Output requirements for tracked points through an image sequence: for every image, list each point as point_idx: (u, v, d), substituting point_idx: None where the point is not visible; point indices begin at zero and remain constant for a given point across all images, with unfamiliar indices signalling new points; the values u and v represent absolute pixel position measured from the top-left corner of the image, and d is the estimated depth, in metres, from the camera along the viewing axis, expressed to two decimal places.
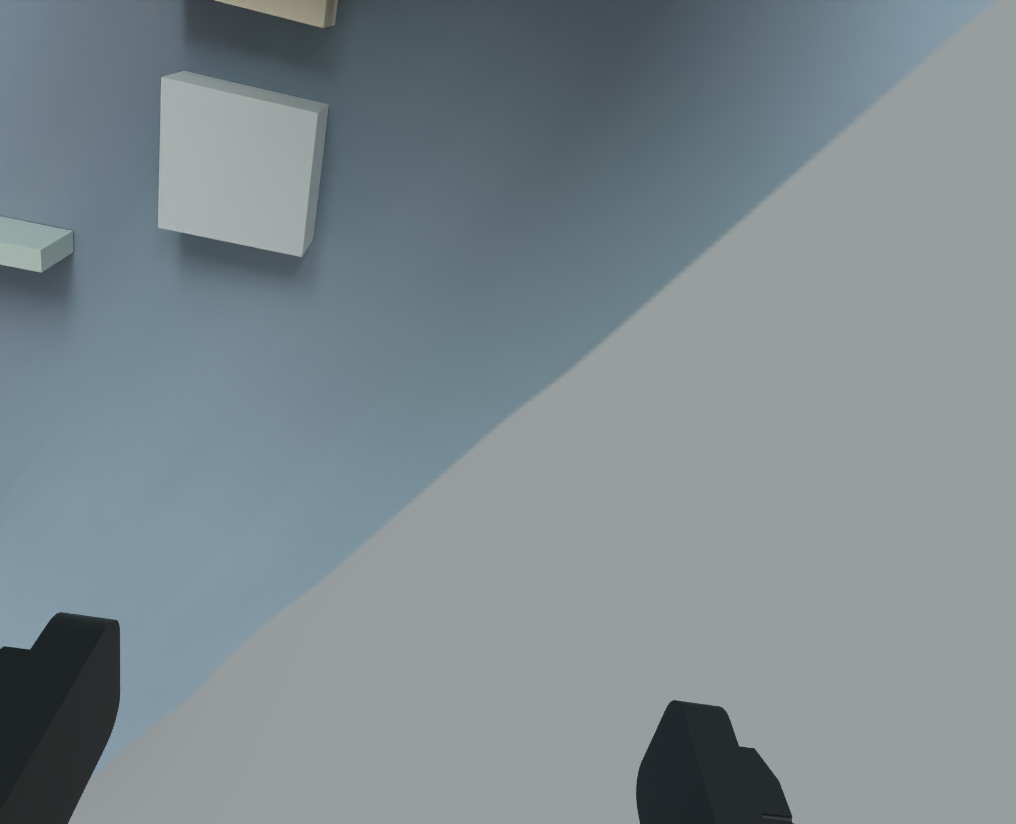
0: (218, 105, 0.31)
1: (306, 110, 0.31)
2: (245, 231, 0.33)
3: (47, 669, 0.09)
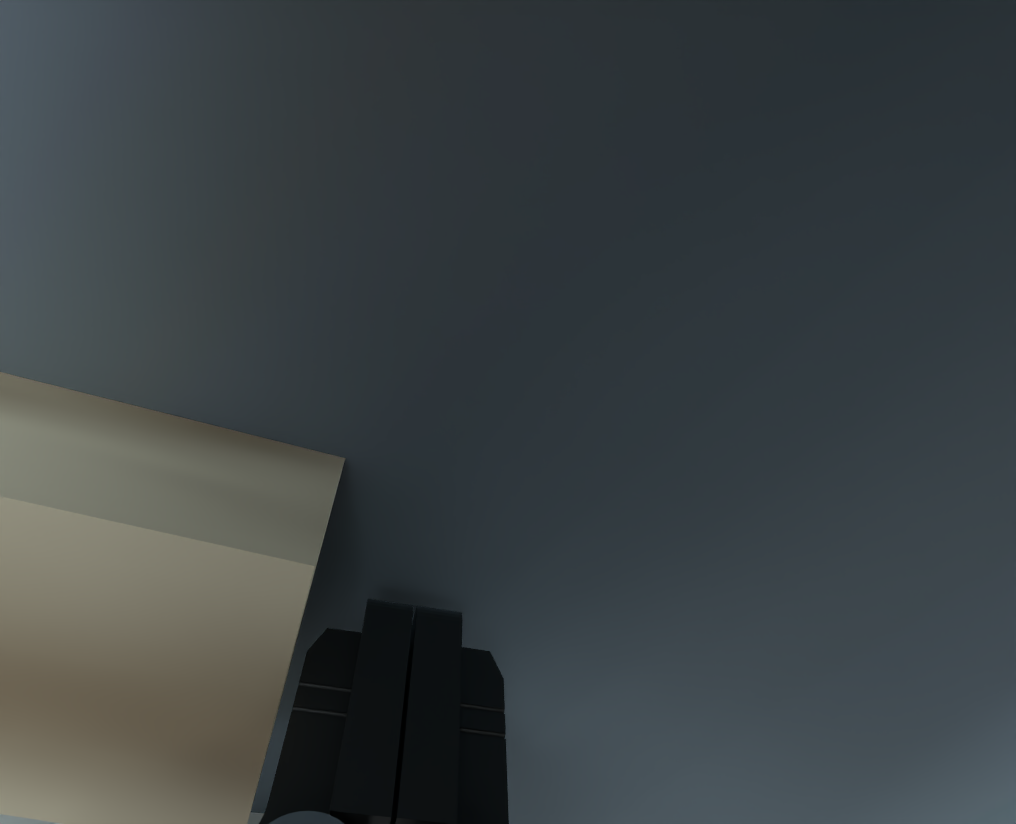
0: None
1: None
2: None
3: (383, 647, 0.11)
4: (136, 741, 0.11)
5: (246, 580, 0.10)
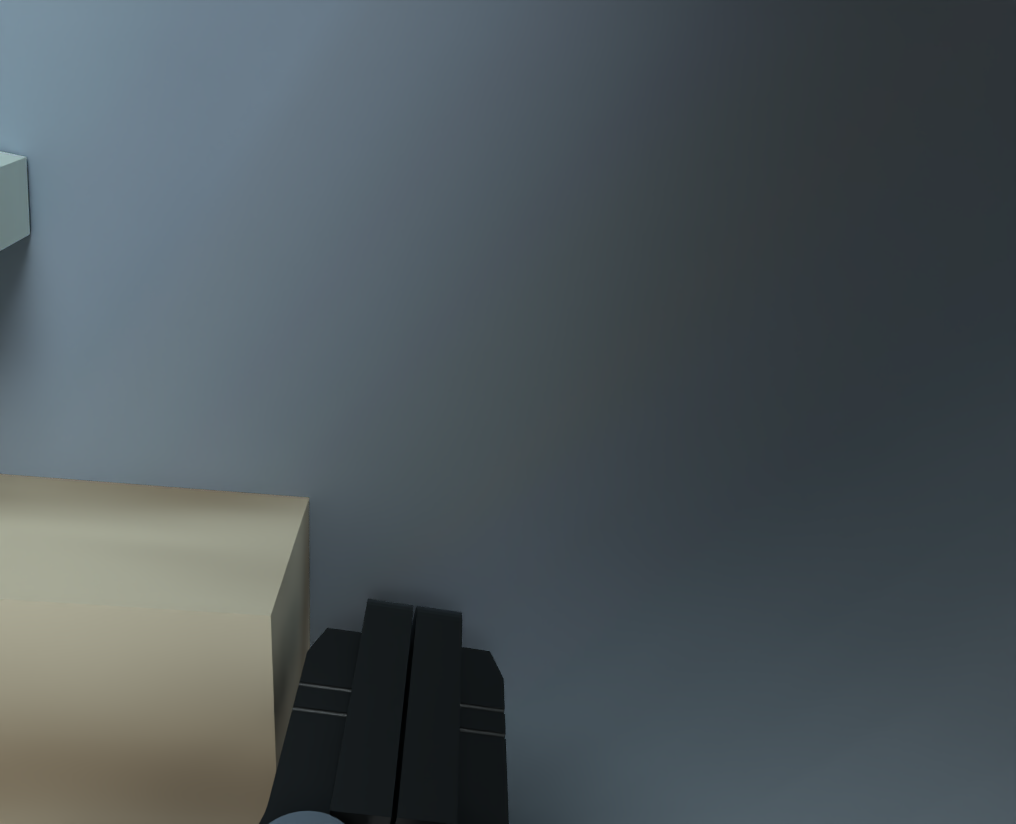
0: None
1: None
2: None
3: (383, 647, 0.11)
4: (155, 801, 0.12)
5: (209, 639, 0.10)
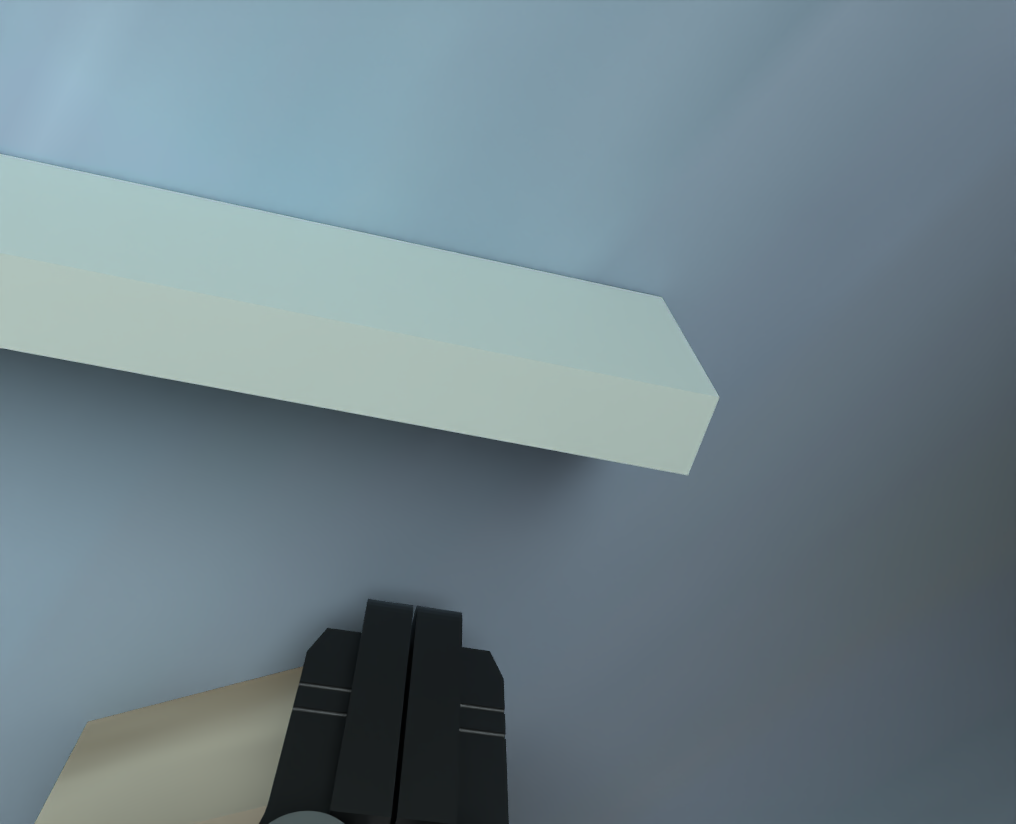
0: None
1: None
2: None
3: (383, 647, 0.11)
4: None
5: None
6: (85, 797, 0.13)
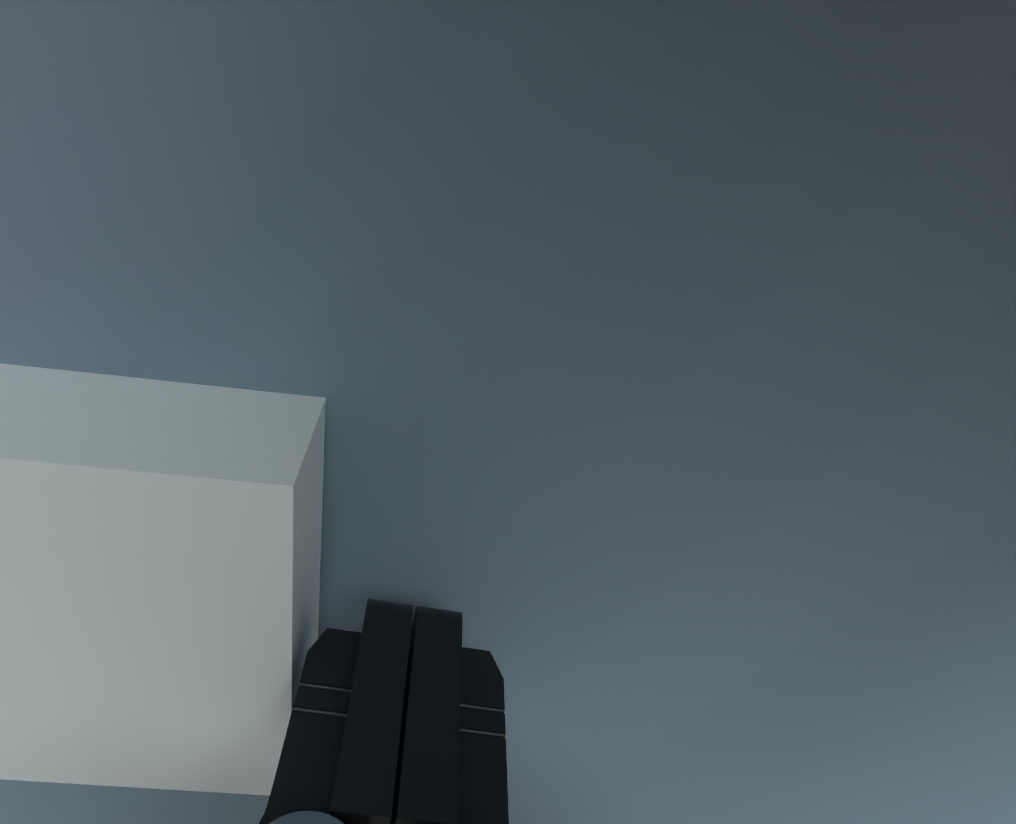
0: None
1: (256, 479, 0.10)
2: (127, 761, 0.12)
3: (383, 646, 0.11)
4: None
5: None
6: None
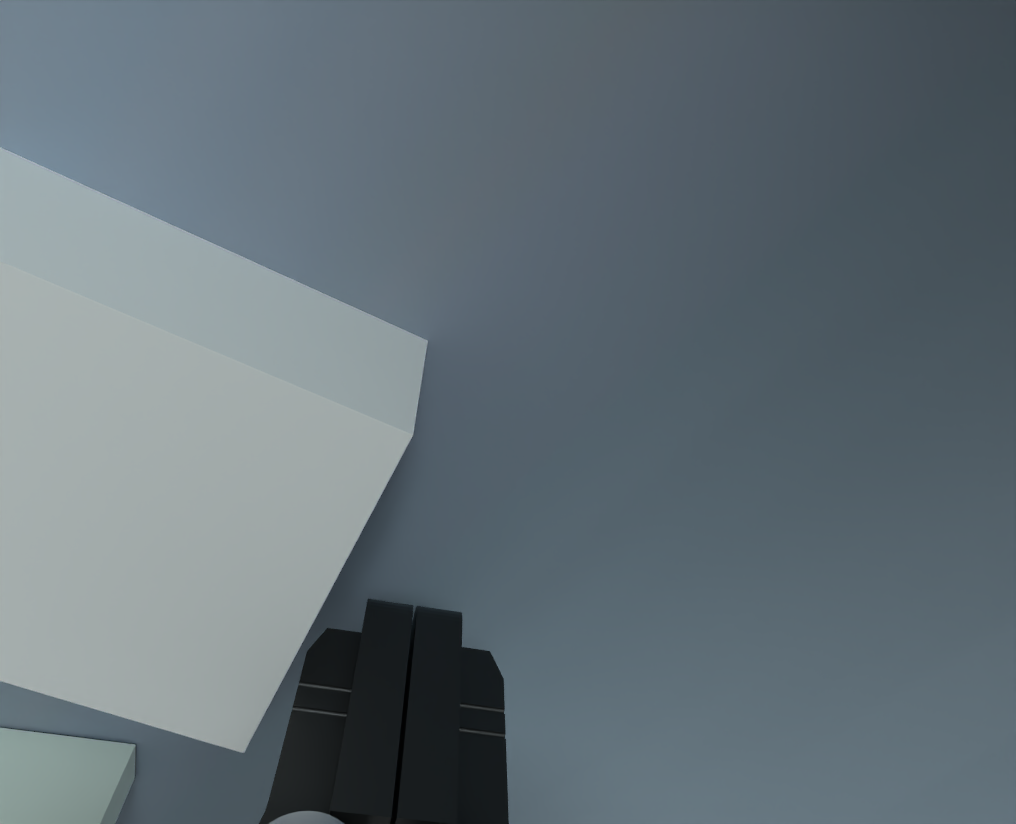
0: (57, 334, 0.08)
1: (376, 416, 0.09)
2: (82, 673, 0.11)
3: (383, 647, 0.11)
4: None
5: None
6: None
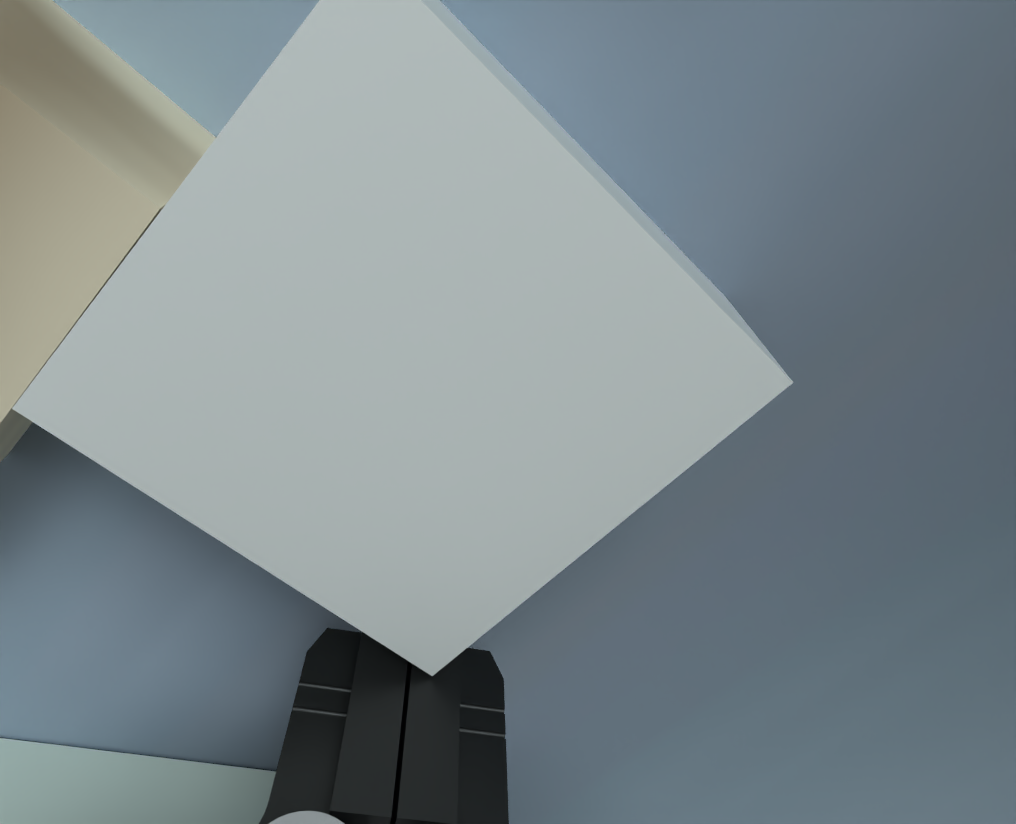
0: (506, 175, 0.07)
1: (764, 353, 0.09)
2: (313, 551, 0.10)
3: (383, 647, 0.11)
4: None
5: None
6: None
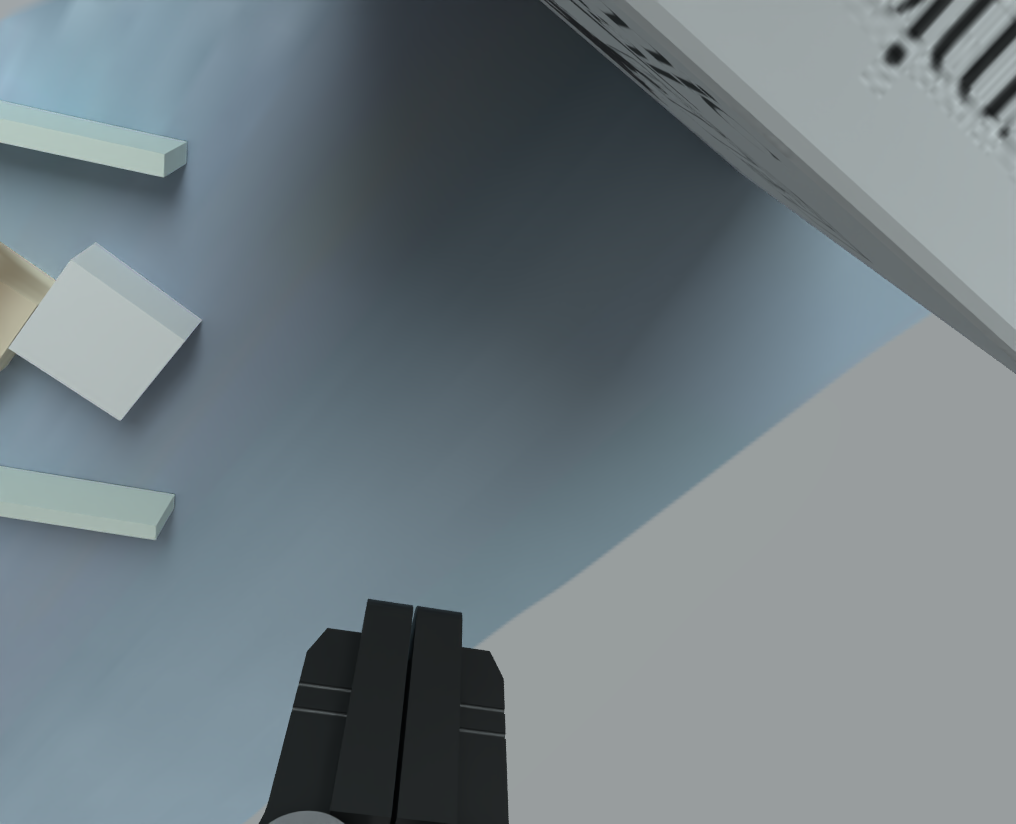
0: (107, 298, 0.37)
1: (177, 334, 0.38)
2: (82, 384, 0.39)
3: (383, 647, 0.11)
4: None
5: None
6: None
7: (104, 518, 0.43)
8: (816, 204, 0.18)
